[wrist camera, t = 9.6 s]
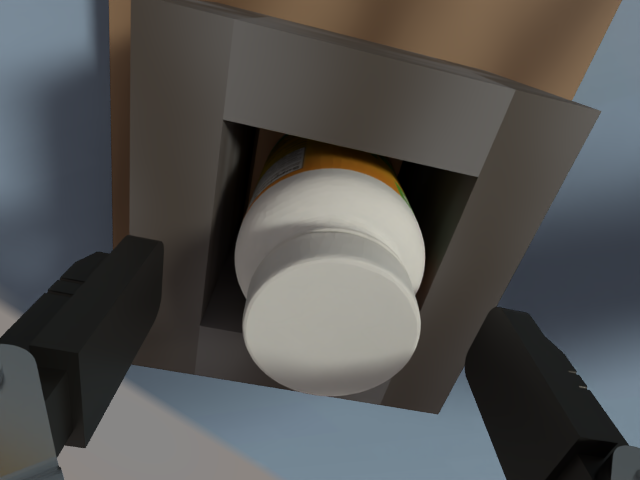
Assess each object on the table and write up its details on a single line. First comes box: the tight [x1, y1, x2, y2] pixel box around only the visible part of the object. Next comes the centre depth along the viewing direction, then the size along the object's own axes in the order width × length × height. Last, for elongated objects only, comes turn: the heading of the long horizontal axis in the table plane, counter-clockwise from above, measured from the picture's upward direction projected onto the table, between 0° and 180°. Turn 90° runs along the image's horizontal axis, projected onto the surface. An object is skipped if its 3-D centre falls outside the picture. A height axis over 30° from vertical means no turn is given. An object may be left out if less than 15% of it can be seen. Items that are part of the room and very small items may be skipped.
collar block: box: [109, 0, 622, 414], centre depth 16 cm, size 19×19×10 cm
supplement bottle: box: [235, 134, 425, 396], centre depth 13 cm, size 5×5×10 cm
